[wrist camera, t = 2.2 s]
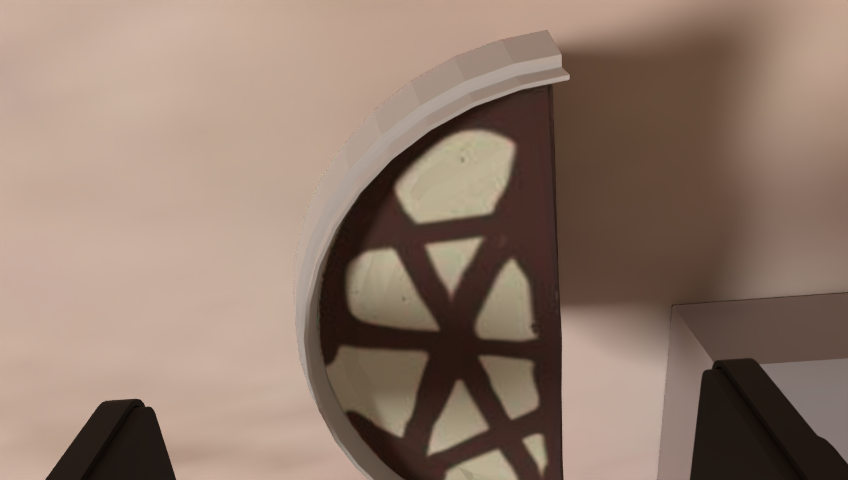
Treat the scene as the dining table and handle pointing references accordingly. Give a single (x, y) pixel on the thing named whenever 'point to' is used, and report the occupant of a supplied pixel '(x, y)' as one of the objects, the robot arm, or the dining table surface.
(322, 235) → the food container
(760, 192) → the dining table surface
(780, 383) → the tray
